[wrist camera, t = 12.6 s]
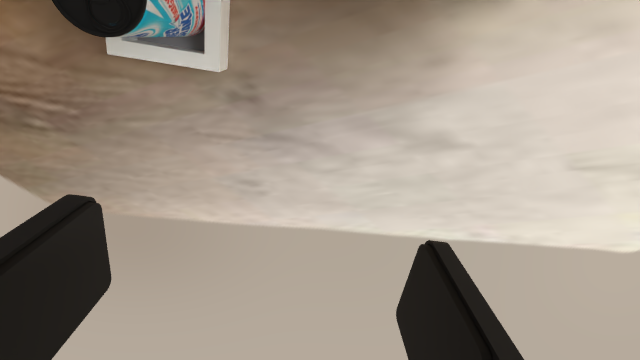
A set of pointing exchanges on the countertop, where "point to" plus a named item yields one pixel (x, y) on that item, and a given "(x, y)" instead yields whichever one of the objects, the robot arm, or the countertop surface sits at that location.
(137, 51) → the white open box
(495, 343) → the robot arm
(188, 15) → the beverage can
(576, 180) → the countertop surface
